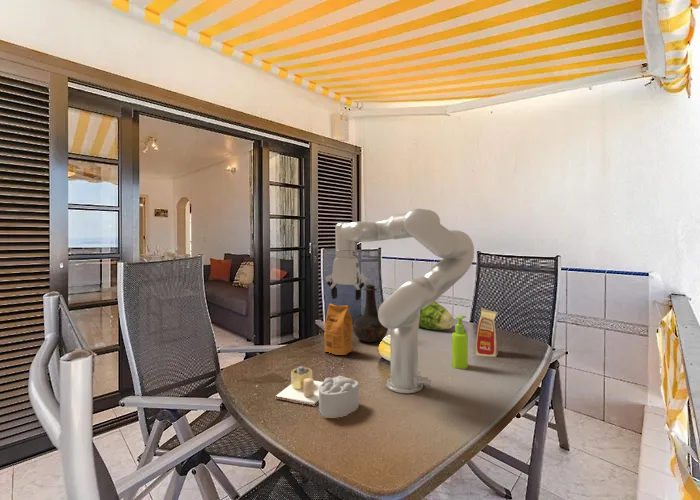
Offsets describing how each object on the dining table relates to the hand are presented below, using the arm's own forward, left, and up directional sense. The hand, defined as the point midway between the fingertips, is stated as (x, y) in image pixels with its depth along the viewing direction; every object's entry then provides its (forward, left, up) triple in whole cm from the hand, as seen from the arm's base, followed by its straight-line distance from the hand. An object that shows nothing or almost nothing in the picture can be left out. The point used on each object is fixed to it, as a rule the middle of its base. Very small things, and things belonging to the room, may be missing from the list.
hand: (346, 299), depth 136 cm
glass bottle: (+4, -42, -29) cm, 51 cm away
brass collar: (+9, +20, -27) cm, 35 cm away
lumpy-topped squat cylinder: (-8, +29, -29) cm, 41 cm away
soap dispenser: (-41, -20, -28) cm, 54 cm away
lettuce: (-23, -73, -28) cm, 82 cm away
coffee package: (+12, -19, -28) cm, 36 cm away
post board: (+6, +23, -28) cm, 37 cm away
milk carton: (-51, -40, -28) cm, 71 cm away
